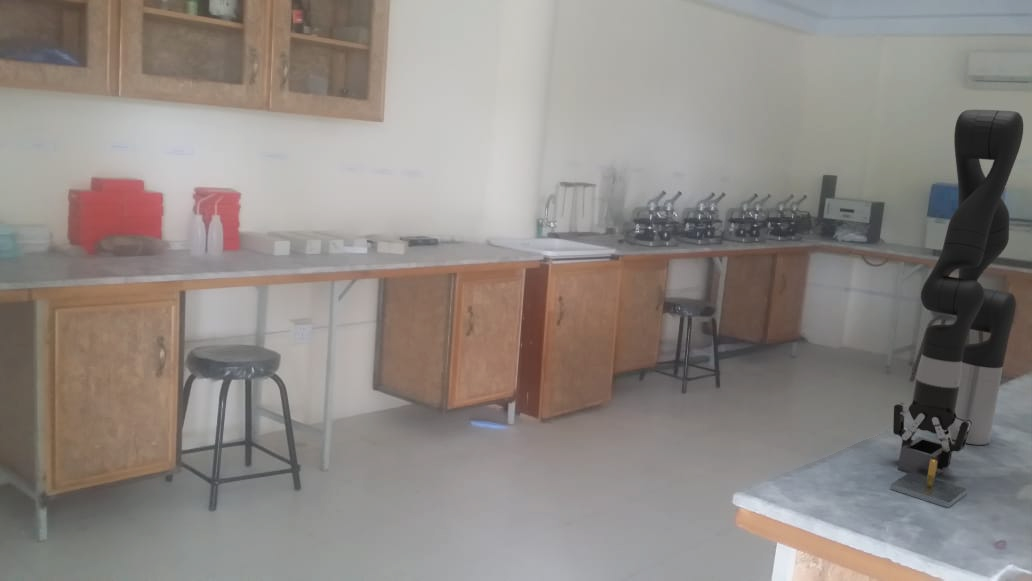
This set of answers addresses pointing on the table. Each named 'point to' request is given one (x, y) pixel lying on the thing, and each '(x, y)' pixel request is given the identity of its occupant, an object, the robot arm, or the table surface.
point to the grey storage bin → (920, 456)
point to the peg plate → (929, 487)
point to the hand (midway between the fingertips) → (923, 463)
